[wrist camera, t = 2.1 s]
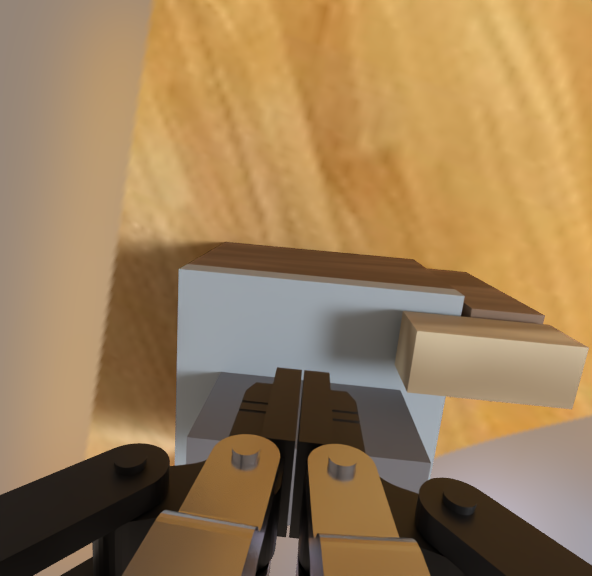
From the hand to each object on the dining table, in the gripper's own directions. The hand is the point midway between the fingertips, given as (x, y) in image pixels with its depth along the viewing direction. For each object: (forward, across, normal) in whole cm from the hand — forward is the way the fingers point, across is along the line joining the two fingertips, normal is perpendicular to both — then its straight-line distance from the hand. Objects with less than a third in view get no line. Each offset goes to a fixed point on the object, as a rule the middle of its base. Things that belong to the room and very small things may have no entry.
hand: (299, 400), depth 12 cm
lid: (+8, 0, +4) cm, 9 cm away
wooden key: (+6, -7, 0) cm, 9 cm away
